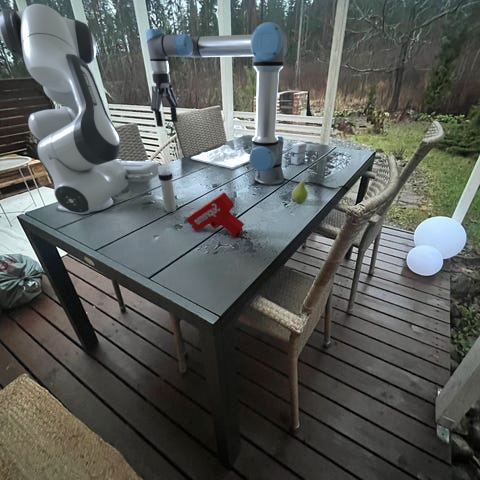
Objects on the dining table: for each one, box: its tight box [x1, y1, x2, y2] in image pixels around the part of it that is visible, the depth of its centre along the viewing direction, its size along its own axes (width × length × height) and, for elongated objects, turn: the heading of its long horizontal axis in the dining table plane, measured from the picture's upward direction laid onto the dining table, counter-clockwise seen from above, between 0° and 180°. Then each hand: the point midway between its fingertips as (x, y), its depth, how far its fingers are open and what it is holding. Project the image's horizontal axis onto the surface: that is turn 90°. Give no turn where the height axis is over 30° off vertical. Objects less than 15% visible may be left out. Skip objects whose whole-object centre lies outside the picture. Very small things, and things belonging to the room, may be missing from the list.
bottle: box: [159, 178, 177, 213], centre depth 112 cm, size 5×5×16 cm
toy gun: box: [186, 192, 245, 238], centre depth 98 cm, size 18×4×15 cm
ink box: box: [290, 141, 308, 166], centre depth 167 cm, size 8×5×12 cm, turn 135°
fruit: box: [291, 174, 311, 204], centre depth 118 cm, size 7×8×12 cm
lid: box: [157, 170, 174, 181], centre depth 108 cm, size 5×5×2 cm
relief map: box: [190, 144, 250, 170], centre depth 177 cm, size 27×35×5 cm
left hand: (134, 162), depth 84 cm, fingers open, 8 cm apart
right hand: (167, 124), depth 132 cm, fingers open, 13 cm apart
